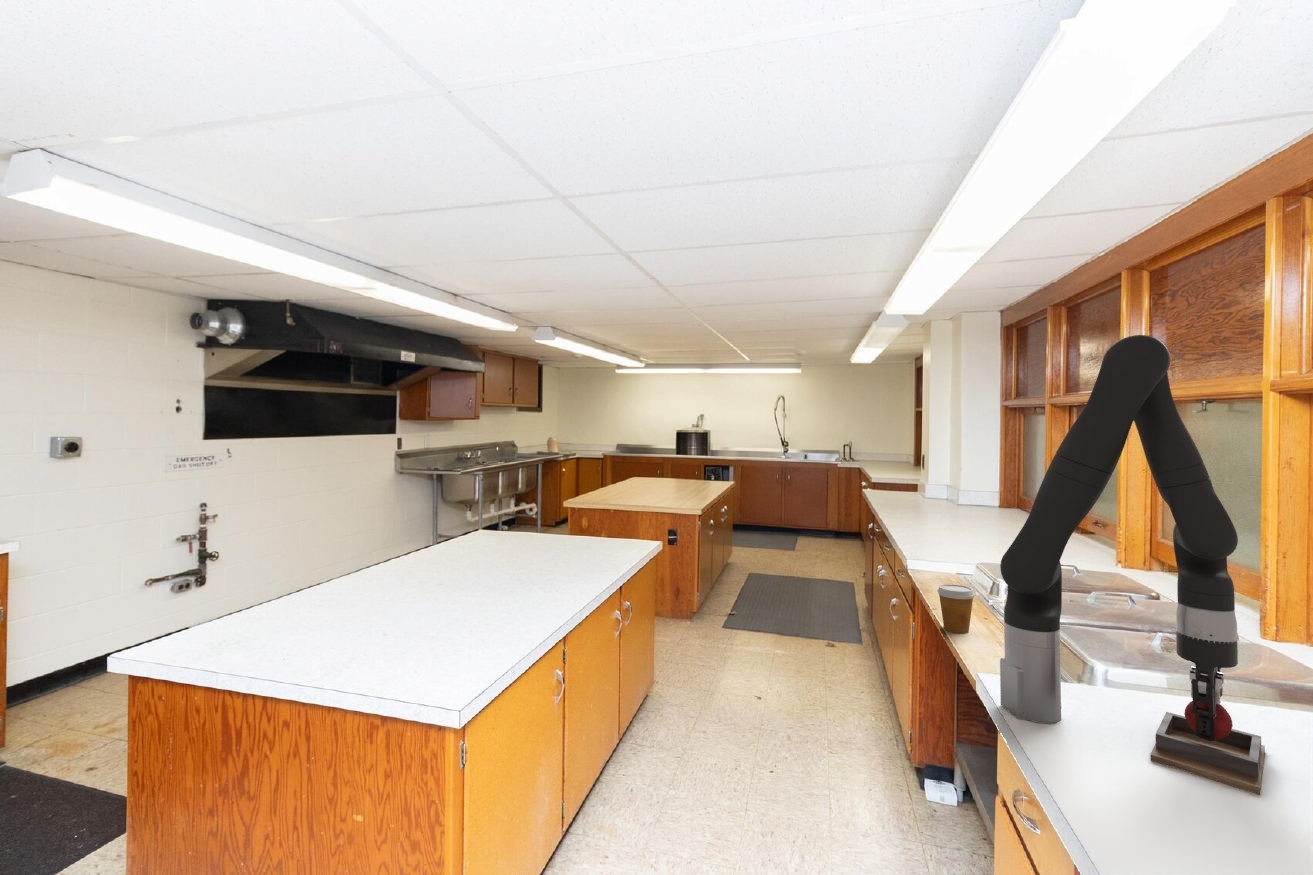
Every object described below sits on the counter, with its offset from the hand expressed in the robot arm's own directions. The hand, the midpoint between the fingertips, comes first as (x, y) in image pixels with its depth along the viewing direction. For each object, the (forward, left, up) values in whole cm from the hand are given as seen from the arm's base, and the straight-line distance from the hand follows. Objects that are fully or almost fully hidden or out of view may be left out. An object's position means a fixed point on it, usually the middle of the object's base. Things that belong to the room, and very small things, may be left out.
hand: (1207, 731), depth 97 cm
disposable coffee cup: (-11, +66, -4) cm, 67 cm away
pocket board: (0, 0, -4) cm, 4 cm away
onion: (0, 0, -2) cm, 2 cm away
